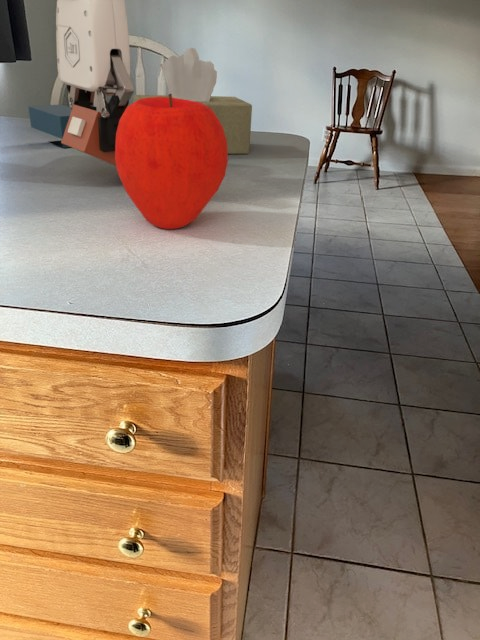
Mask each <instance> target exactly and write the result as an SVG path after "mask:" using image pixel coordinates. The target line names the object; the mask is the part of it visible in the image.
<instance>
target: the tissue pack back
mask: <svg viewBox="0 0 480 640" xmlns="http://www.w3.org/2000/svg"><path fill="white" fill-rule="evenodd" d="M71 111H72V109H71V106H67V105H63V104H45V105H44V104H43V105H28V115H29V122H30V127H31V128H32V129H36V130H38V131H40V132H43V133H46V134H48V135H50V136H54V137H56V138H58V139H60V140H51V141H48V143H49V144H52V145H55V146H56V147H59V148H61V149H69V148H71V147H69V146H67V145H65V144H62V143H61V141H62V138H63V135H64V132H65V129H66V126H67V123H68V120H69V117H70V114H71Z"/></svg>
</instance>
